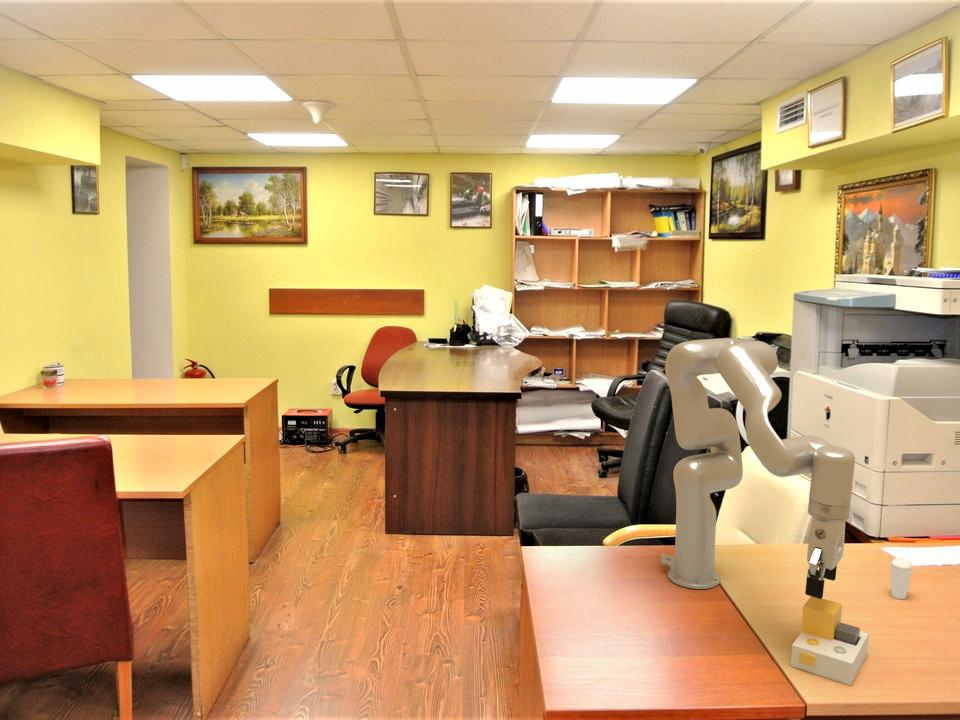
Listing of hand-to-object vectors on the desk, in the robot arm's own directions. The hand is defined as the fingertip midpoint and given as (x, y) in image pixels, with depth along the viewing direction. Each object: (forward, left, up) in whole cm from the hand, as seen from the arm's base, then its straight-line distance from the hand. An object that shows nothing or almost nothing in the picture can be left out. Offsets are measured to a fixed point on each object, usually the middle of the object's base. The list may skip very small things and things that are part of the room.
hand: (820, 587), depth 156 cm
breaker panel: (+3, -3, -14) cm, 14 cm away
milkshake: (+9, +36, -14) cm, 40 cm away
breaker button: (+6, 0, -11) cm, 13 cm away
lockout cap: (+1, 0, -9) cm, 9 cm away
